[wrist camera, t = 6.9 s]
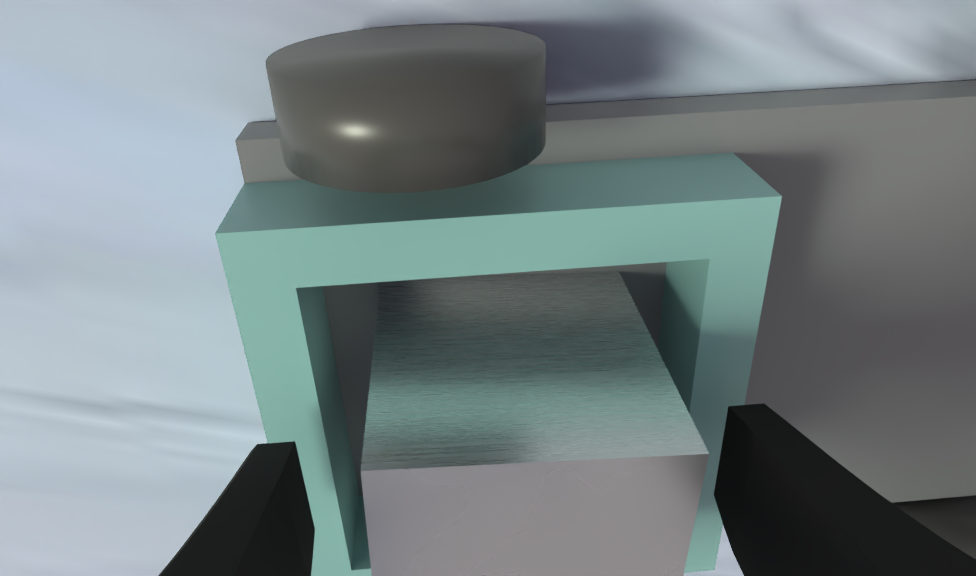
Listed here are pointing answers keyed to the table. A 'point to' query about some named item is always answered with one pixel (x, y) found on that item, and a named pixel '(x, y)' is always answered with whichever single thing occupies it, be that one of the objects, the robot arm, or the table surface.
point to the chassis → (618, 251)
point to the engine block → (524, 432)
